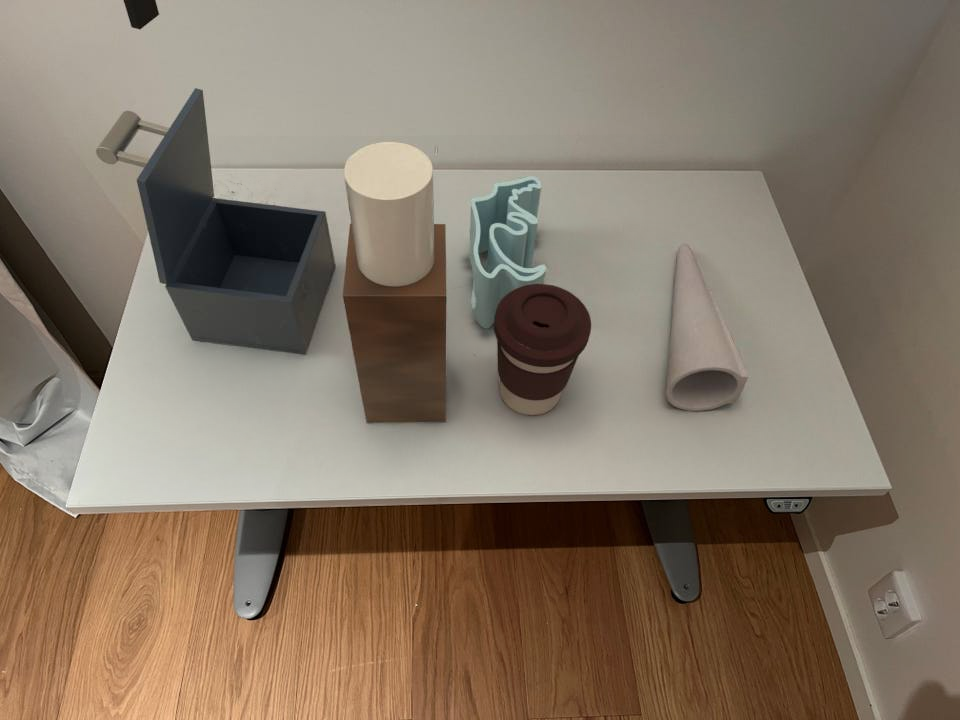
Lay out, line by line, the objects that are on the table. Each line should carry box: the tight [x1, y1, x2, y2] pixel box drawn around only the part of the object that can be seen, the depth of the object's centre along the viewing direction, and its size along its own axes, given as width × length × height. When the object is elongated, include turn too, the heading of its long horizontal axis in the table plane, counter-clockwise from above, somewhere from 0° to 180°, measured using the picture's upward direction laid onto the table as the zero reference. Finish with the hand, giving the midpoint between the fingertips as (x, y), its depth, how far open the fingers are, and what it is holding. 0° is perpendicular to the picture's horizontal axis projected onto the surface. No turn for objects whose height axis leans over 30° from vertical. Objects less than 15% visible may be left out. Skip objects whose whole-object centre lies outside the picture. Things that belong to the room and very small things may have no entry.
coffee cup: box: [493, 283, 592, 416], centre depth 74 cm, size 10×10×15 cm
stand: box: [342, 223, 447, 424], centre depth 71 cm, size 9×9×22 cm
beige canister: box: [343, 141, 435, 287], centre depth 58 cm, size 7×7×10 cm
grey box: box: [164, 197, 337, 356], centre depth 83 cm, size 14×15×10 cm
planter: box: [665, 243, 749, 412], centre depth 86 cm, size 8×9×26 cm
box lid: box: [95, 87, 215, 285], centre depth 72 cm, size 15×15×7 cm
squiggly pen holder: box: [468, 175, 547, 329], centre depth 87 cm, size 18×10×9 cm, turn 6°
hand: (69, 1), depth 55 cm, fingers open, 13 cm apart
